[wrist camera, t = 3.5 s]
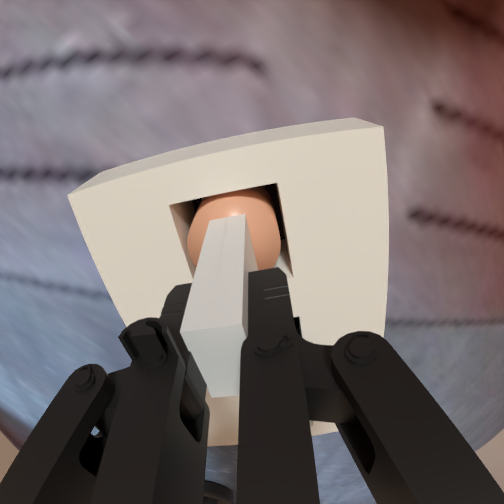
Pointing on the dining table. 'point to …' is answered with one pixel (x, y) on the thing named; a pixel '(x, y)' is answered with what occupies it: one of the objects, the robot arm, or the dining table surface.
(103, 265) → the button panel
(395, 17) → the dining table surface
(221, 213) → the terracotta button
